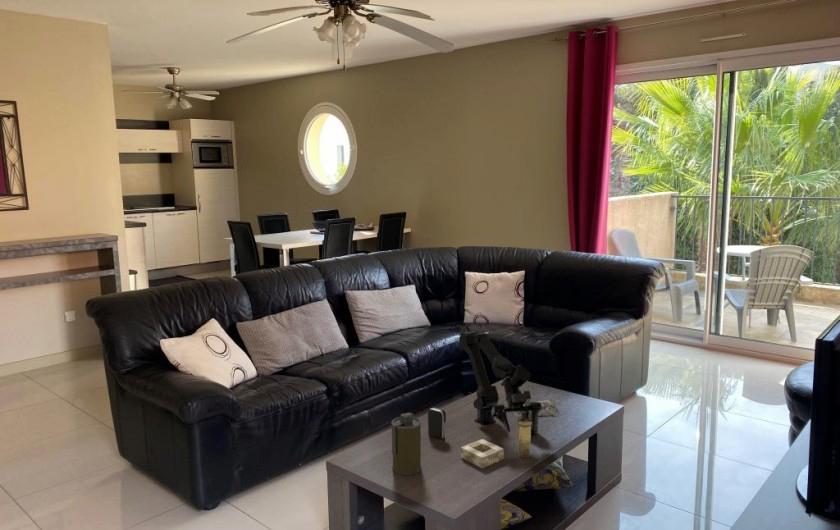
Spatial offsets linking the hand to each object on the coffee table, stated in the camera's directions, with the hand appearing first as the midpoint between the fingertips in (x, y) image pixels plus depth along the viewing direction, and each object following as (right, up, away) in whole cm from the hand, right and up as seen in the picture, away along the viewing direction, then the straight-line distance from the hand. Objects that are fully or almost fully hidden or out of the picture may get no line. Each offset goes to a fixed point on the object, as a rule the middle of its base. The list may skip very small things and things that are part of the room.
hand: (521, 430), depth 230 cm
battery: (-31, -6, +14) cm, 35 cm away
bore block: (-15, -9, -5) cm, 18 cm away
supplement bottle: (+6, -6, +16) cm, 18 cm away
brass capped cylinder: (+1, -8, -2) cm, 9 cm away
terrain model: (+12, -3, +40) cm, 42 cm away
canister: (-43, -10, -12) cm, 46 cm away
